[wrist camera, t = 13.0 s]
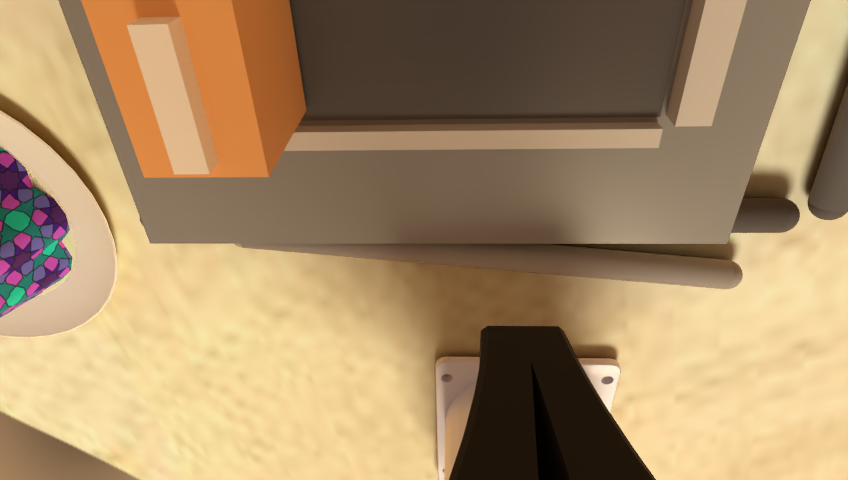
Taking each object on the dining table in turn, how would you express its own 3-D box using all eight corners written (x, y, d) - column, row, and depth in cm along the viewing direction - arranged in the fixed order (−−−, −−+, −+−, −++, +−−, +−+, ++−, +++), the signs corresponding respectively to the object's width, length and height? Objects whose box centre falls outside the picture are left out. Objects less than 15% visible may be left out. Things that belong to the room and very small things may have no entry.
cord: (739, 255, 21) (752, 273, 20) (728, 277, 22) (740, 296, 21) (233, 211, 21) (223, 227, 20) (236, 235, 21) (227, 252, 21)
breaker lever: (306, 110, 16) (261, 189, 13) (206, 111, 17) (132, 190, 13) (283, -41, 14) (219, 0, 10) (167, -38, 14) (62, 4, 10)
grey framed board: (709, 218, 20) (736, 257, 18) (169, 219, 21) (140, 256, 19) (878, -324, 12) (960, -358, 10) (-3, -281, 13) (-83, -304, 11)
